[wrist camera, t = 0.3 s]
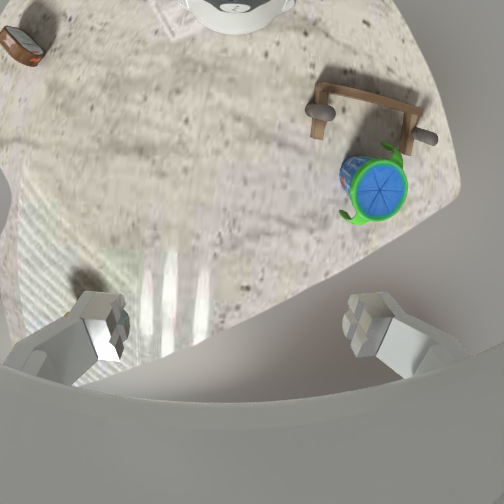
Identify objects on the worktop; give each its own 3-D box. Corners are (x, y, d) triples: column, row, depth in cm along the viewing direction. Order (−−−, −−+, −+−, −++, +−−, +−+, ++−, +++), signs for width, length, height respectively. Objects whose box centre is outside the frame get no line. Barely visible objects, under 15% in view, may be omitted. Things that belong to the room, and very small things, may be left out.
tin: (14, 37, 23) (-11, 36, 15) (22, 25, 22) (-2, 22, 15) (43, 68, 29) (17, 68, 22) (53, 55, 28) (26, 53, 21)
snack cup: (360, 124, 42) (390, 133, 33) (396, 159, 46) (426, 175, 37) (311, 190, 48) (329, 213, 40) (350, 218, 52) (372, 244, 43)
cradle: (307, 81, 38) (322, 79, 31) (416, 108, 40) (442, 114, 33) (302, 135, 43) (316, 143, 36) (409, 154, 45) (432, 165, 38)
